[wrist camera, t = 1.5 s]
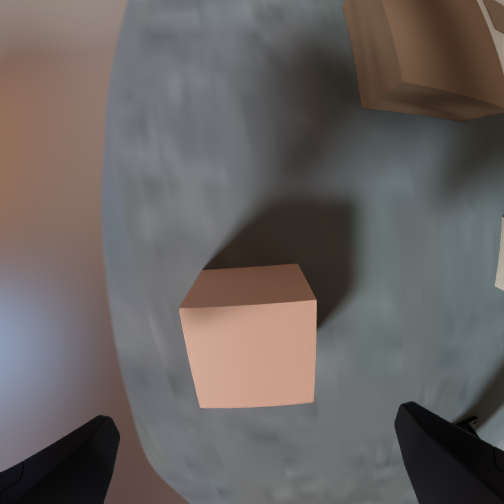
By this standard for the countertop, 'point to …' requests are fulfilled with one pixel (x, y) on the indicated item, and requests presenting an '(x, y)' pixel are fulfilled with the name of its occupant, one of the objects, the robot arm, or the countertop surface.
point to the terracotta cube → (251, 336)
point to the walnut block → (425, 58)
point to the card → (495, 23)
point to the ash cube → (501, 261)
